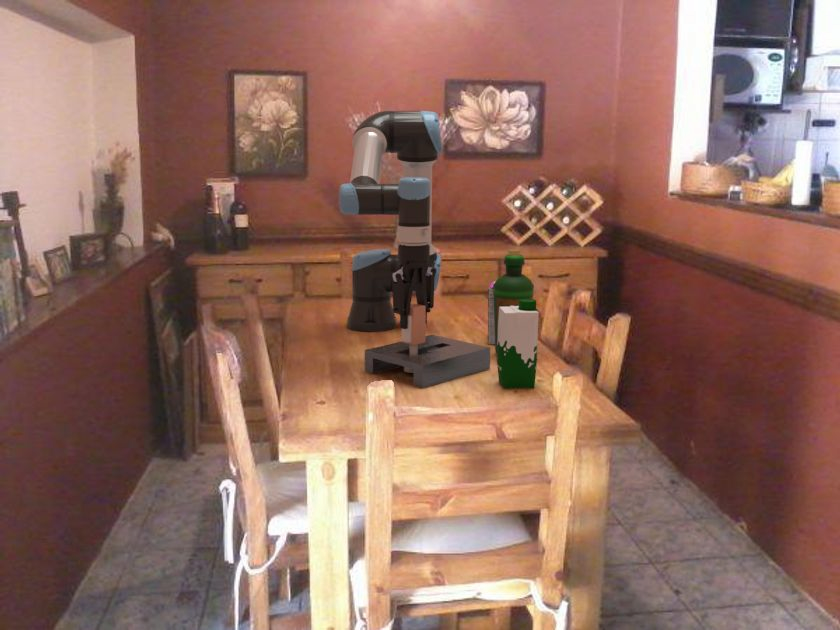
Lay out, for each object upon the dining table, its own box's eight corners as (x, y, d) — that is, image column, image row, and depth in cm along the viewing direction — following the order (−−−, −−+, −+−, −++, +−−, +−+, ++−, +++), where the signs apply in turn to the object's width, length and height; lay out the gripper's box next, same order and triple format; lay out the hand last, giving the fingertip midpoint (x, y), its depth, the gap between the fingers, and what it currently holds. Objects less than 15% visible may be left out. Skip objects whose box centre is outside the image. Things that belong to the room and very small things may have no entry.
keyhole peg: (399, 370, 205) (399, 305, 202) (413, 366, 208) (413, 303, 205) (413, 373, 202) (413, 308, 198) (427, 370, 205) (427, 305, 202)
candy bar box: (491, 335, 246) (492, 280, 242) (508, 336, 245) (509, 281, 242) (486, 344, 235) (487, 287, 232) (504, 345, 234) (505, 287, 231)
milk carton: (539, 389, 193) (542, 303, 189) (500, 390, 192) (502, 304, 188) (531, 378, 202) (533, 296, 198) (493, 379, 201) (495, 297, 197)
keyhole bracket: (364, 371, 207) (364, 349, 206) (432, 354, 224) (432, 334, 223) (422, 388, 193) (422, 365, 192) (489, 368, 210) (490, 347, 209)
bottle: (505, 361, 217) (508, 254, 211) (484, 352, 226) (486, 249, 221) (539, 357, 222) (543, 251, 216) (517, 348, 231) (520, 247, 225)
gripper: (399, 248, 190) (399, 348, 195) (450, 242, 202) (448, 336, 207) (376, 245, 195) (377, 343, 200) (427, 239, 207) (427, 331, 212)
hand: (413, 339), depth 203 cm, fingers closed on keyhole peg, 4 cm apart
